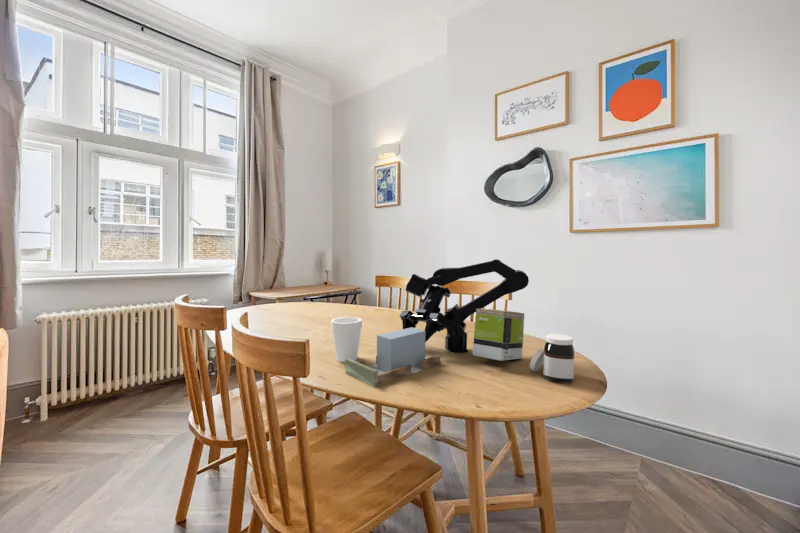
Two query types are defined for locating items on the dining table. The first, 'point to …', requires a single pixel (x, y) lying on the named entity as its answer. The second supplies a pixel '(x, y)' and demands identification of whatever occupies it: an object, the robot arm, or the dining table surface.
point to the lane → (379, 377)
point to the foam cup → (346, 337)
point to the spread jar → (556, 358)
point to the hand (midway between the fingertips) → (413, 341)
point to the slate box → (400, 349)
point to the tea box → (498, 334)
